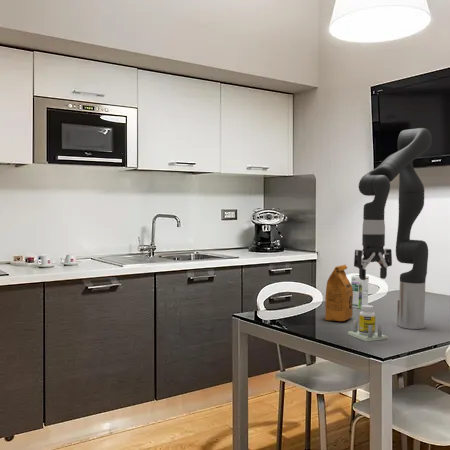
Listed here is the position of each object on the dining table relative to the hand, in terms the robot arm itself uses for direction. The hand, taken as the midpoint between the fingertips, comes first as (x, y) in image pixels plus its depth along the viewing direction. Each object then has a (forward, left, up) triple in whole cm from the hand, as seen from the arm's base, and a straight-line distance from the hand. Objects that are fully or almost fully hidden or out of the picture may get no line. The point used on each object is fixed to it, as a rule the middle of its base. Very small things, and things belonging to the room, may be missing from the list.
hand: (372, 279), depth 178 cm
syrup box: (-47, +30, -21) cm, 59 cm away
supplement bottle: (-1, -1, -20) cm, 20 cm away
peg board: (-1, -1, -20) cm, 20 cm away
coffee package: (-28, +6, -21) cm, 35 cm away
